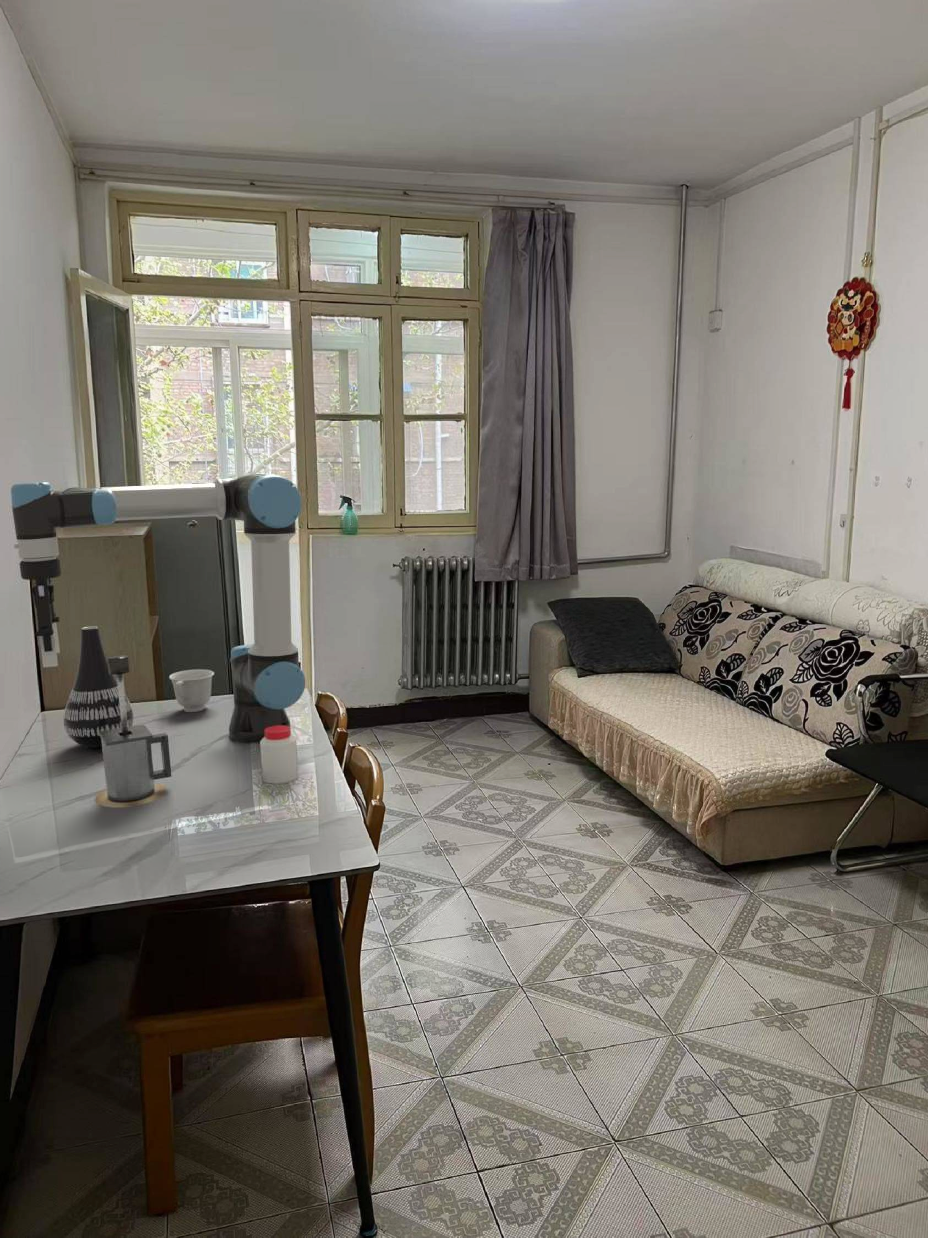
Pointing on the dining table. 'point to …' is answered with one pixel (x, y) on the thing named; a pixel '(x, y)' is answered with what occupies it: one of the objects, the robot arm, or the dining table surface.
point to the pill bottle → (279, 755)
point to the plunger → (120, 684)
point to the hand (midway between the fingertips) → (51, 659)
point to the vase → (93, 695)
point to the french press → (132, 763)
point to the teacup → (192, 688)
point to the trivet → (104, 801)
